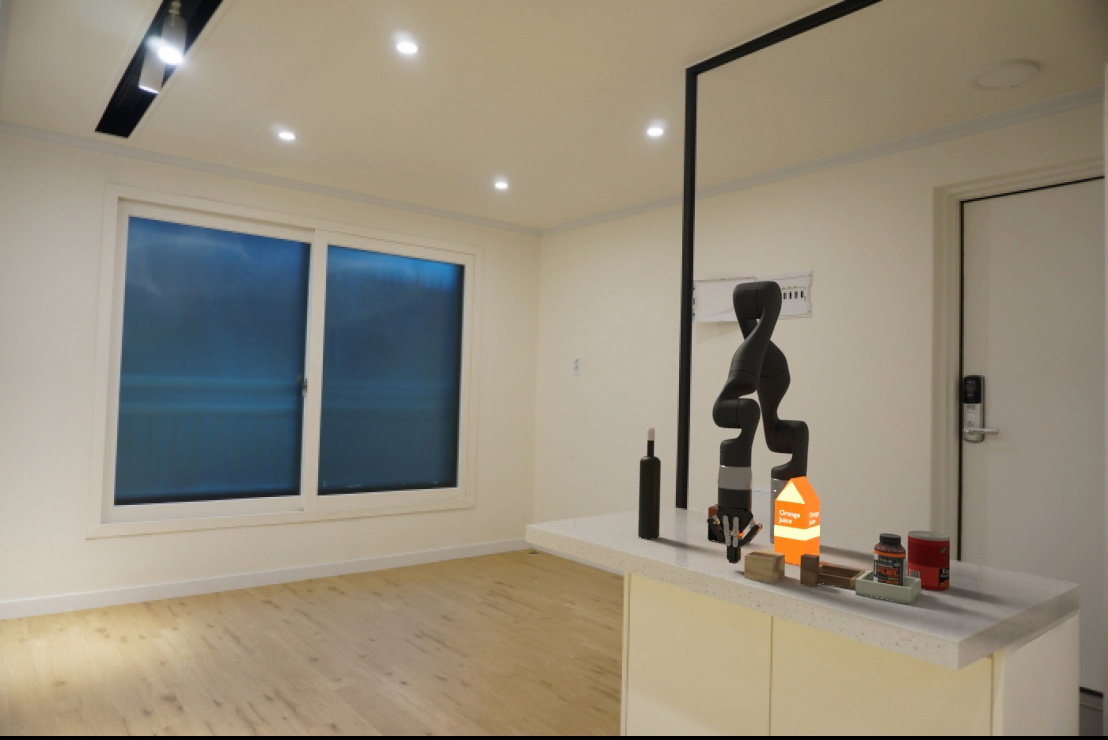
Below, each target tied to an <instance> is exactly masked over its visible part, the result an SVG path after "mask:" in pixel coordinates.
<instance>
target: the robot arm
mask: <svg viewBox="0 0 1108 740" xmlns="http://www.w3.org/2000/svg"><path fill="white" fill-rule="evenodd" d="M732 303H733V304H732V305H733V310H734V314H735V316H736V320H737V323H738V325H739V328H740V332H741V334H742V337H743V341H742V343H741V344H740V345H739V346H738V347H737V349H736V351H735V352H734V353H733V356H732V358H731V360H730V365H729V366H730V367H729V369H728V370H729V372H728V376H727V378H726V379H727V380H726V381H725V384H724V385H723V387H722V390H720V392H719V395H718V396H717V397H716V400H715V401H714V403H713V406H712V413H711V414H712V415H711V416H712V420H713V422H714V424H715V425H716V426H717V427H719V428H722V429H735V430H737V429H738V430H741V431H740V433H739V435H738V436H737V437H734V438H727V439H723V440H721V442H720V445H719V466H718V475H717V476H718V477H717V504H718V509H717V511H716V515H714V516H713V517H712V518H709V519H708V518H707V519H706V523H707V525H708V524H709V526H710V527H711V529H712V531H713V532H714V534H715V535H716V537H717V539H718V540H719V541H720V542H721V543H723V544H725V545H726V560H728V563H730V564H735V565H736V564H738V563H739V562H740V561H741V559H742V546H746V545H749V544H750V543H751V541H753V539H754V538H755V537H756V536H757V535H758V533H759V532H761V530H762V529H763V527H764V526H763V524H761V523H758V521H756V520H755V519H754V514H753V511H752V506H753V502H752V501H753V471H752V451H753V445H754V440H755V436H756V432H757V429H758V426H759V423H760V421H761V420H762V425H763V433H764V440H765V444H766V447H767V448H768V450H769V451H770V452H772V453H776V454H786V455H787V454H788V455H791V458H790V460H789V461H787V462H786V463H783V464H781V465H775V466H773V467H772V468H771V469H770V500H769V501H770V504H769V505H770V506H769V507H770V508H769V510H770V511H769V512H770V513H769V541H770V542H771V543H773V544H774V525H775V500H776V499H777V497H778V496H779V495H780V493H781V492H782V491H783V489H784V488H785V486H786V485H787V484H788V482H789V481H790V480H791V479H793V478H799V477H806V478H807V474H808V461H809V459H808V458H809V445H810V444H809V443H810V442H809V441H810V433H809V430H810V429H809V427H808V426H809V425H808V424H807V422H805V421H804V420H797V419H796V420H795V419H781V418H779V415H778V409H779V406H780V404H781V402H782V400H783V399H784V397H785V395H786V394H787V391H788V390H789V388H790V384H791V374H790V369H789V364H788V359H787V357H786V356H785V353H784V352H783V351H782V350H781V348H779V347H778V346H777V345H776V343H774V342H773V341H772V340H771V338H772V336H773V334H774V331H775V328H776V325H777V323H778V319H779V316H780V315H781V310H782V306H783V293H782V289H781V286H780V285H779V283H778V282H776V281H773V280H766V281H765V280H763V281H751V282H743V283H742V282H741V283H738V284H736V286H735V287H734V288H733V290H732ZM757 320H758V321H757ZM755 392H756V394H757V397H758V401H756V400H755V398H754V399H753V398H750V397H749V398H748V397H745V396H749V395H752V394H754V393H755ZM743 396H744V397H743ZM742 397H743V398H742ZM758 402H759V403H758ZM760 419H761V420H760ZM720 523H721V524H722V526H723V528H724V531H723V529H722V528H721V526H720ZM747 527H748V528H749V531H747V533H746V534H745V530H746V529H747ZM744 534H745V536H744ZM720 542H719V543H720Z"/></svg>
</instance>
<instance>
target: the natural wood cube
mask: <svg viewBox="0 0 1108 740" xmlns="http://www.w3.org/2000/svg"><path fill="white" fill-rule="evenodd" d="M743 569H744V573H743V576H744V578H743V579H748V578H750V579H749V580H753V579H755V580H754V581H758V580H761V581H760V582H763V581H767V582H766V583H768V582H771V583H770V584H773V583H774V582H776V581H778V580H779V578H780V579H781V577H782V576H784V575H785V576H786V573H785V572H786V563H785V554H783V553H777V552H774V551H770V550H769V551H767V550H762V549H757V550H754V551H752V552H750V553H746V554H745V555H744V567H743ZM785 576H784V577H785ZM782 578H783V577H782ZM777 579H778V580H777ZM775 580H776V581H775ZM773 581H774V582H773Z"/></svg>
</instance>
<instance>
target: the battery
mask: <svg viewBox="0 0 1108 740" xmlns="http://www.w3.org/2000/svg"><path fill="white" fill-rule="evenodd" d="M707 508H708V510H707V516H708V517H707V519H709V518H712V517H713V516H714V515H716V511H717V509H718V503H715V504H714V505H711V506H709V507H707ZM720 526H721V528H722V529H723V531H724V528H723V526H722V524H721V523H720ZM708 539H709V540H715V541H719V540H718V539H717V537H716V535H715V534H714V532H713V531H712V529H711V527H710V526H709V524H708V523H707V540H708ZM709 540H708V541H709ZM718 543H720V541H719V542H718Z"/></svg>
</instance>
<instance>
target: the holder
mask: <svg viewBox="0 0 1108 740" xmlns="http://www.w3.org/2000/svg"><path fill="white" fill-rule="evenodd" d="M865 572H866V571H864V570H859V569H855V568H854V569H852V568H848V567H840V566H836V565H829V564H823V563H819V584H820V583H824V584H823V585H826V584H829V585H828V586H831V585H835V586H834V587H837V586H840V587H839V588H842V587H845V588H844V589H847V588H851V589H850V590H853V589H854V588H855V579H857V578H858V577H859V576H861V575H862V574H864V573H865ZM854 590H855V589H854Z"/></svg>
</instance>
